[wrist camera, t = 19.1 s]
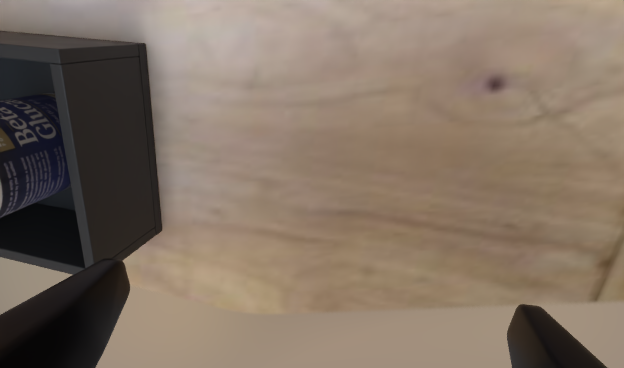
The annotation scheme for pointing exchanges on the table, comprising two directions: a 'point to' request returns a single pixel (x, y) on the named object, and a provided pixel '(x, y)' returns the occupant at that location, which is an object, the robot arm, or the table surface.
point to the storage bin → (86, 150)
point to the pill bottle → (30, 152)
